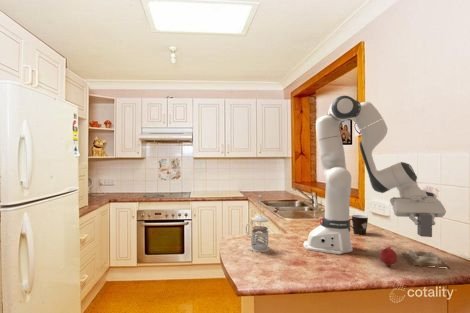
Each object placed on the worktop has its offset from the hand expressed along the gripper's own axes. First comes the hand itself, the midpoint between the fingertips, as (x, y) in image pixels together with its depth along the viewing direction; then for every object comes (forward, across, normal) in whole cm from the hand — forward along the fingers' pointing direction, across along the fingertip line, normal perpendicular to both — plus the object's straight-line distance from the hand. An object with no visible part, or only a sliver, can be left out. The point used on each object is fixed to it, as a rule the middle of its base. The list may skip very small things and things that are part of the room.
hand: (425, 224), depth 118 cm
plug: (+3, 0, +4) cm, 5 cm away
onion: (+16, -18, +7) cm, 25 cm away
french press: (+4, -70, +18) cm, 72 cm away
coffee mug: (-20, -13, +42) cm, 48 cm away
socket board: (+11, 0, +12) cm, 16 cm away
